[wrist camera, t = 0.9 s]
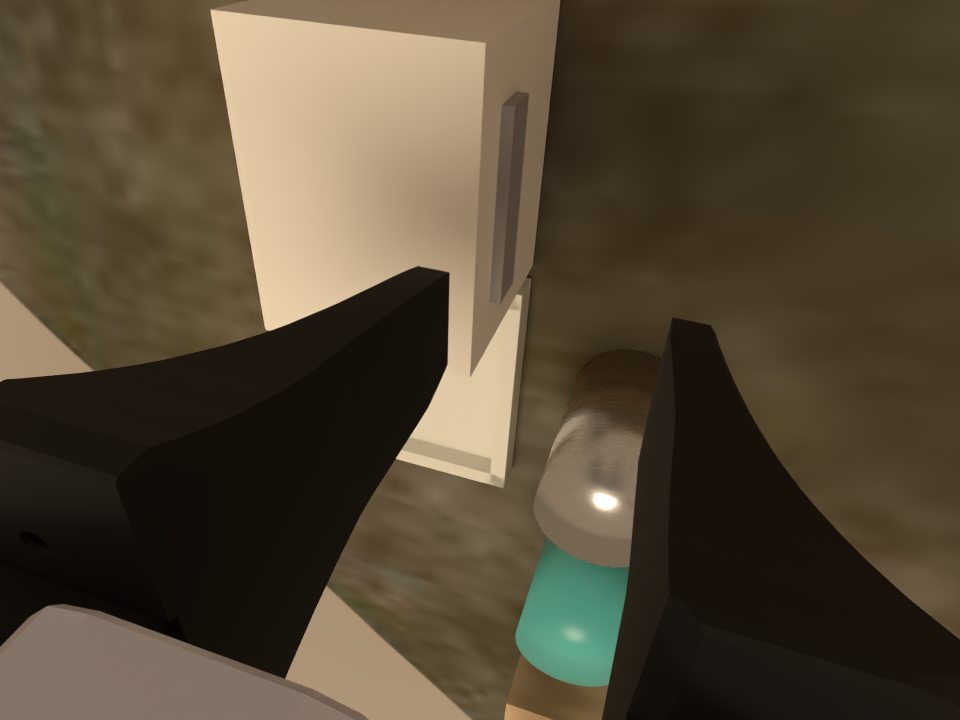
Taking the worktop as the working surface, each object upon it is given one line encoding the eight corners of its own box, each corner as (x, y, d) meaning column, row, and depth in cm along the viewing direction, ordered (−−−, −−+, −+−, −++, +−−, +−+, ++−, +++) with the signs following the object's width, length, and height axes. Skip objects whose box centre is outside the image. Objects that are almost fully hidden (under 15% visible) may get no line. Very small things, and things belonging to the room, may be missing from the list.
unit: (572, -5, 18) (501, 44, 13) (541, 267, 22) (481, 380, 17) (339, -28, 19) (193, 8, 14) (357, 231, 24) (253, 326, 19)
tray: (531, 278, 23) (522, 295, 22) (511, 468, 28) (503, 488, 27) (293, 231, 25) (275, 245, 24) (317, 416, 30) (303, 433, 29)
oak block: (626, 608, 31) (605, 737, 26) (612, 655, 33) (590, 782, 29) (542, 582, 32) (506, 703, 27) (534, 631, 34) (500, 749, 30)
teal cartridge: (657, 505, 27) (637, 637, 22) (638, 568, 29) (617, 699, 25) (558, 479, 28) (520, 601, 23) (548, 542, 30) (511, 664, 26)
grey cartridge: (699, 364, 23) (686, 491, 18) (673, 451, 25) (656, 582, 20) (582, 339, 24) (540, 453, 19) (568, 425, 26) (527, 544, 21)
